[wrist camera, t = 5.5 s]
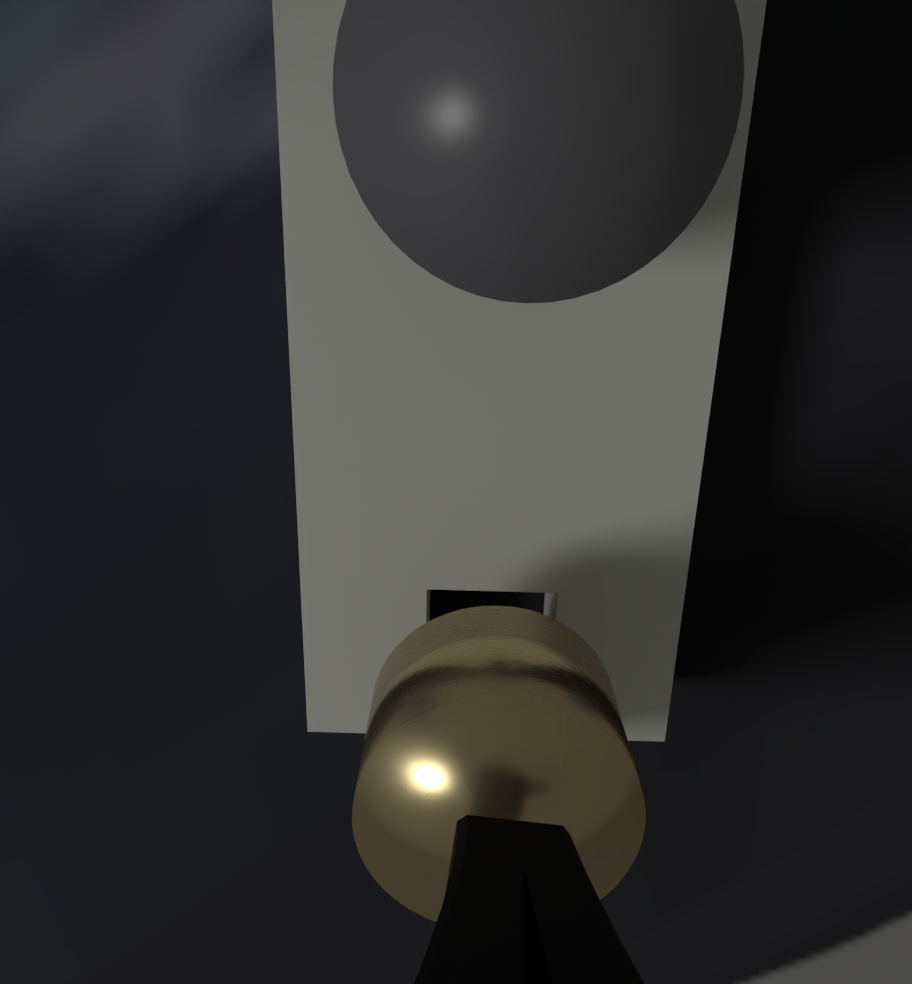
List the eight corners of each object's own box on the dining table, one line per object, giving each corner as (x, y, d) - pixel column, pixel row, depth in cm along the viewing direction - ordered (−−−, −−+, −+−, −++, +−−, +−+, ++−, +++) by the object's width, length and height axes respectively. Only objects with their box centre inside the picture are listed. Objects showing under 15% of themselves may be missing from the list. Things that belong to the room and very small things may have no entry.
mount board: (264, -844, 10) (219, -1074, 8) (830, -834, 10) (912, -1061, 8) (324, 674, 18) (307, 731, 16) (644, 682, 18) (664, 741, 16)
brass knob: (335, 658, 15) (291, 818, 11) (497, 519, 14) (508, 643, 10) (484, 788, 16) (490, 974, 12) (646, 667, 15) (705, 829, 11)
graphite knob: (316, 116, 12) (248, 87, 8) (525, -116, 11) (556, -271, 7) (505, 321, 13) (522, 380, 9) (713, 126, 12) (827, 102, 8)
